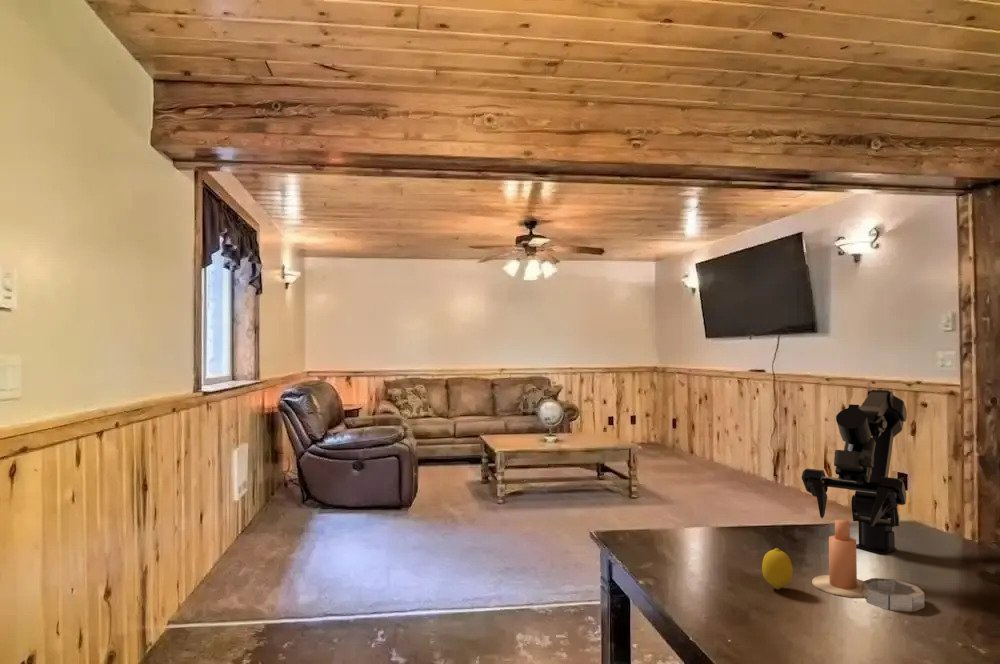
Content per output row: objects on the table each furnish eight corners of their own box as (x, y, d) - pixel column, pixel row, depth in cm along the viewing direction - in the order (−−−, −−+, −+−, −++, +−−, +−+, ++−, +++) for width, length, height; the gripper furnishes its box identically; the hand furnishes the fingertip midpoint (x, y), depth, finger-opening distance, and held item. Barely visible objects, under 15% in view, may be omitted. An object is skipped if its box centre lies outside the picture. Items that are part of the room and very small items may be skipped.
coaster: (800, 583, 131) (800, 581, 131) (833, 573, 137) (833, 571, 137) (853, 601, 122) (853, 599, 122) (886, 590, 128) (886, 588, 128)
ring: (853, 597, 124) (853, 584, 124) (881, 588, 129) (881, 575, 129) (905, 615, 116) (904, 601, 116) (932, 604, 121) (932, 590, 121)
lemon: (791, 585, 130) (790, 545, 130) (794, 596, 125) (793, 554, 125) (761, 582, 132) (761, 543, 132) (763, 592, 127) (762, 551, 127)
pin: (823, 581, 131) (823, 519, 131) (843, 579, 133) (842, 517, 133) (842, 590, 127) (841, 525, 127) (862, 587, 128) (861, 523, 128)
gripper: (803, 431, 143) (788, 491, 134) (902, 438, 131) (893, 505, 122) (814, 461, 149) (800, 521, 140) (910, 471, 136) (901, 537, 128)
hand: (846, 520), depth 132 cm, fingers open, 9 cm apart
